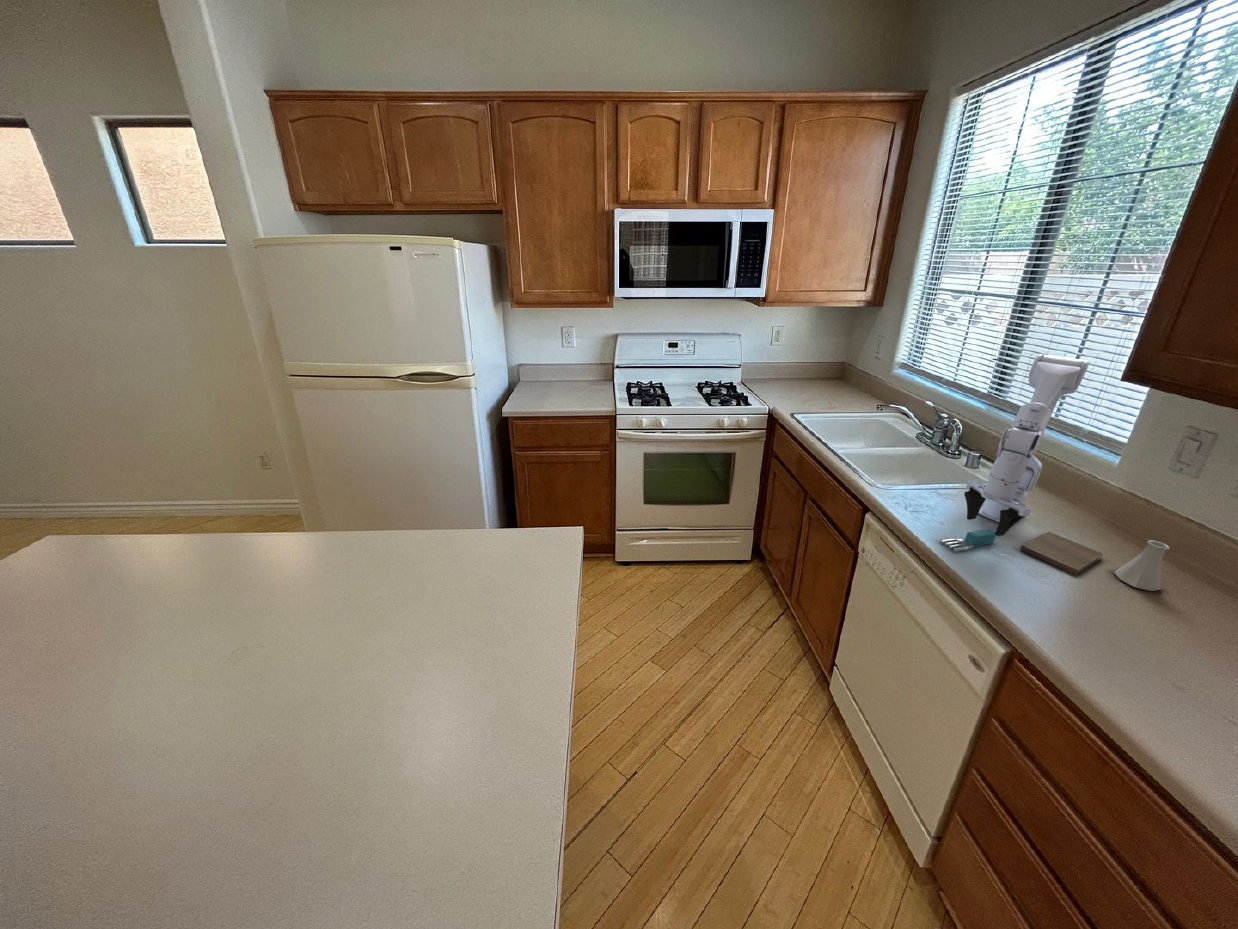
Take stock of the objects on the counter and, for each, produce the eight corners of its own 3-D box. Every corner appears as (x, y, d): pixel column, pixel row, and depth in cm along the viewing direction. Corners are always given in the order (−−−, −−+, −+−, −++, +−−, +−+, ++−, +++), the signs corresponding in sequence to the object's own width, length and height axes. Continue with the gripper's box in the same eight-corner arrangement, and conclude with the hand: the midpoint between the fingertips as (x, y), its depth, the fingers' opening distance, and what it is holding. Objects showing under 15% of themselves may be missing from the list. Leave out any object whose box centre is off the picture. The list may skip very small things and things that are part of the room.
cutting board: (1046, 536, 123) (1048, 531, 122) (1100, 558, 114) (1103, 553, 113) (1019, 550, 116) (1021, 545, 116) (1075, 575, 108) (1078, 570, 107)
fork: (981, 536, 122) (985, 527, 120) (996, 546, 118) (1001, 536, 117) (940, 542, 119) (944, 532, 117) (954, 552, 115) (959, 541, 114)
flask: (1139, 572, 109) (1161, 536, 105) (1169, 593, 103) (1193, 555, 99) (1105, 570, 110) (1126, 533, 106) (1133, 590, 103) (1156, 552, 99)
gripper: (964, 466, 117) (946, 513, 122) (1022, 493, 104) (1000, 545, 110) (986, 464, 118) (968, 511, 124) (1046, 490, 106) (1023, 541, 111)
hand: (984, 526), depth 117 cm, fingers open, 7 cm apart
